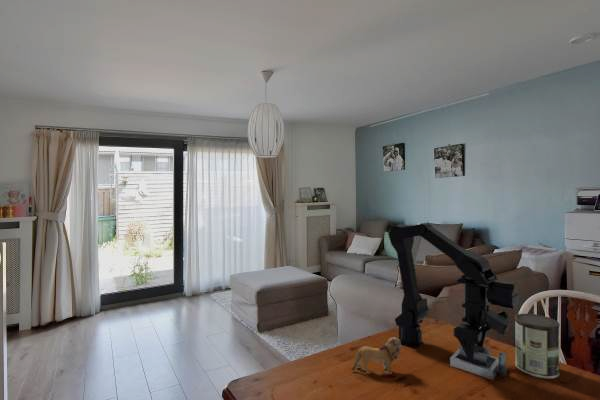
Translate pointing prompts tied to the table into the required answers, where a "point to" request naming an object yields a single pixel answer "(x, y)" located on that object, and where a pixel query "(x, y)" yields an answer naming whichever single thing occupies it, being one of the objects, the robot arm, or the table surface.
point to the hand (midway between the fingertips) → (475, 354)
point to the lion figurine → (379, 354)
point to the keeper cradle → (489, 373)
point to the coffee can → (537, 345)
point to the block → (478, 356)
